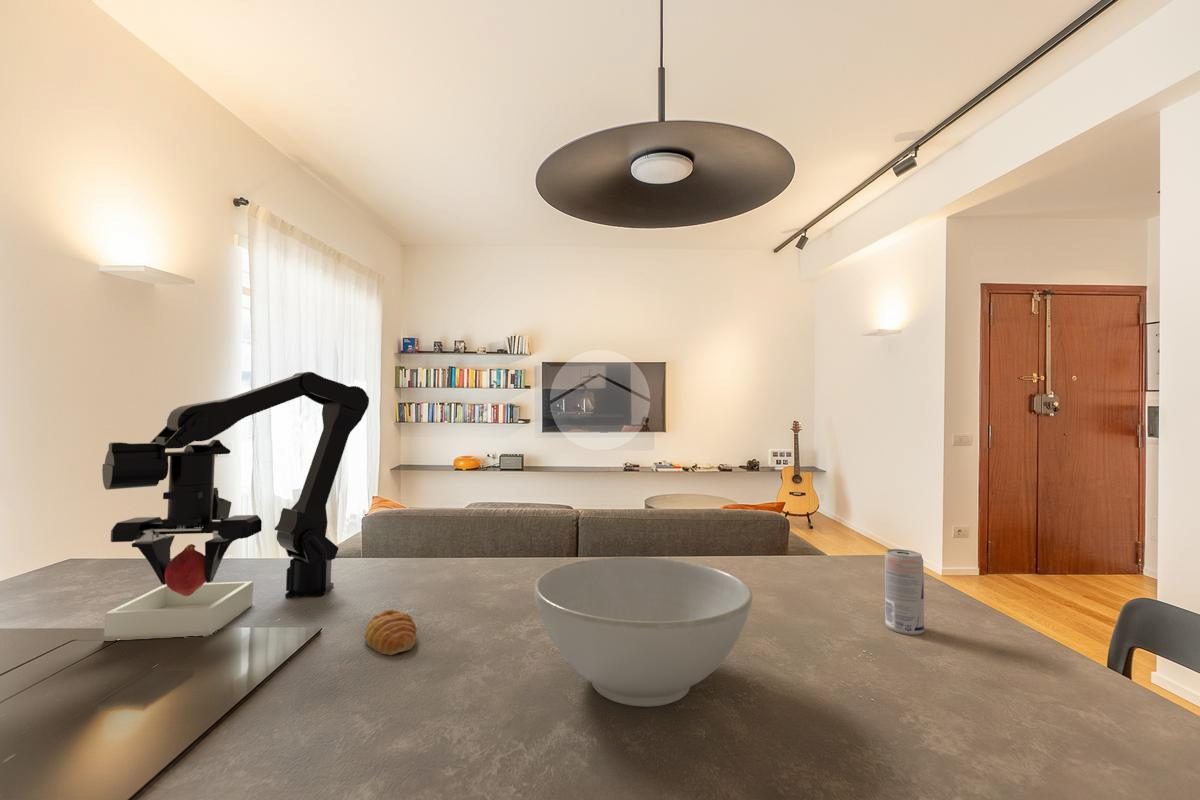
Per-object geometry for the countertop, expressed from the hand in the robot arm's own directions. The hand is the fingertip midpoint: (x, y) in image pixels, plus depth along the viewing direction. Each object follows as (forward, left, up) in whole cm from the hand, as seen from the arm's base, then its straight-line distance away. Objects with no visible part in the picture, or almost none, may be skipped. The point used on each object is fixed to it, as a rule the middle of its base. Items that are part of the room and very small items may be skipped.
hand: (187, 582), depth 84 cm
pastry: (-33, +13, -6) cm, 36 cm away
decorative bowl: (-66, +30, -6) cm, 73 cm away
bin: (0, 0, -6) cm, 6 cm away
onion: (0, 0, -2) cm, 2 cm away
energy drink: (-112, +20, -6) cm, 114 cm away
